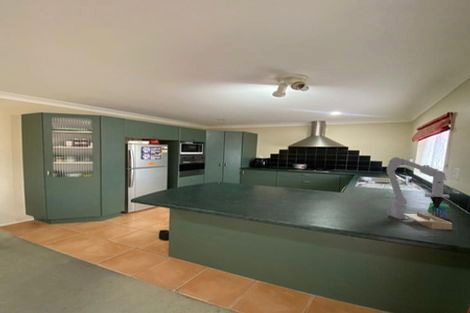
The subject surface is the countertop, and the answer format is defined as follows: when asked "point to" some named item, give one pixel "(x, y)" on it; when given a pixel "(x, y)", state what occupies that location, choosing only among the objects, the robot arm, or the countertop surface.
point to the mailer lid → (420, 217)
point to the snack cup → (439, 210)
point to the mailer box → (437, 224)
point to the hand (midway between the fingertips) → (436, 207)
